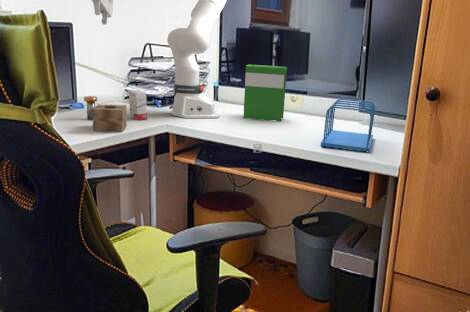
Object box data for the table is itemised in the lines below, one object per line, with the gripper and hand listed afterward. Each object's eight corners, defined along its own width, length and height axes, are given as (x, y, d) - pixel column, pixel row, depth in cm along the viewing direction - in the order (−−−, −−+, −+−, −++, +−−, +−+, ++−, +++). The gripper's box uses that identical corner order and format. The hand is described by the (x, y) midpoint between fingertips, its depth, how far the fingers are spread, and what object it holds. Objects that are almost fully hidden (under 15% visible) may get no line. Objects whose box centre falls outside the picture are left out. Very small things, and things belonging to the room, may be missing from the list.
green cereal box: (283, 118, 223) (286, 67, 217) (280, 121, 216) (284, 68, 210) (246, 115, 227) (249, 64, 220) (243, 117, 220) (246, 65, 213)
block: (126, 125, 192) (126, 105, 190) (122, 132, 181) (122, 110, 179) (99, 125, 191) (98, 104, 189) (93, 131, 181) (92, 109, 178)
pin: (99, 118, 204) (98, 96, 202) (96, 120, 199) (95, 98, 197) (86, 117, 204) (85, 96, 201) (83, 120, 199) (82, 98, 196)
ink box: (147, 119, 206) (147, 92, 203) (136, 120, 203) (136, 93, 200) (139, 116, 213) (139, 89, 210) (128, 116, 210) (128, 90, 207)
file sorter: (369, 153, 168) (374, 110, 163) (320, 147, 173) (324, 106, 168) (372, 138, 190) (377, 101, 186) (329, 134, 196) (333, 97, 191)
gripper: (101, -27, 180) (101, 8, 179) (115, -3, 201) (115, 28, 199) (85, -27, 181) (84, 8, 179) (100, -3, 201) (100, 28, 199)
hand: (100, 19), depth 189 cm, fingers open, 8 cm apart
